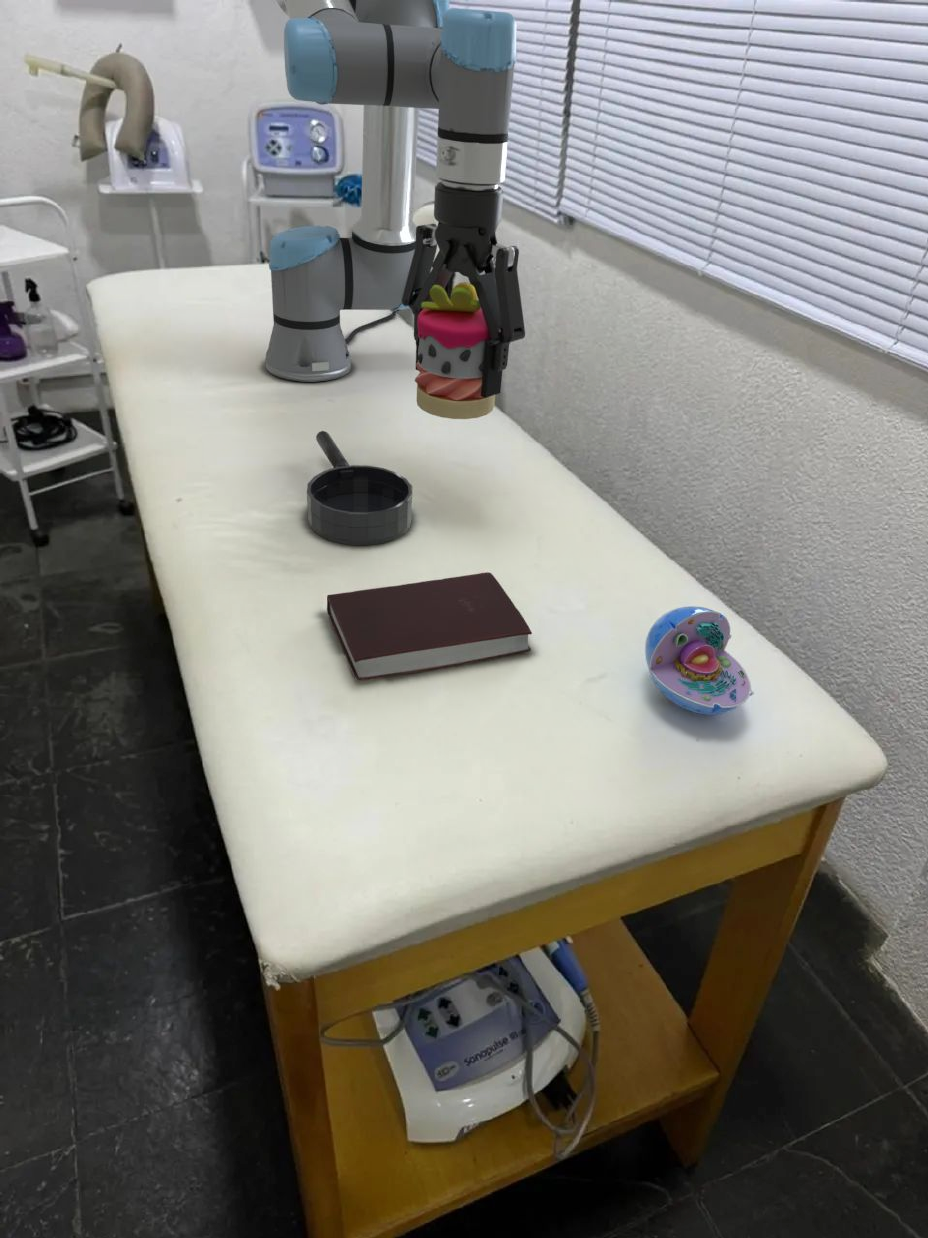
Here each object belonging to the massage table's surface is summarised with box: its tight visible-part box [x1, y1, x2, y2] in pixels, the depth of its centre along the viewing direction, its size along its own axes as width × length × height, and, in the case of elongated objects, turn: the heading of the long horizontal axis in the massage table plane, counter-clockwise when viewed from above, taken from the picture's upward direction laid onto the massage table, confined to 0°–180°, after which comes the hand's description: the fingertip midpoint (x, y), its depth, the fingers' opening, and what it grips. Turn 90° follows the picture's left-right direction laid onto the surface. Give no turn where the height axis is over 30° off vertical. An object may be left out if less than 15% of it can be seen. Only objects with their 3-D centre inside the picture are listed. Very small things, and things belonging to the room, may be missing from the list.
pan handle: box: [315, 430, 354, 479], centre depth 119 cm, size 13×2×2 cm, turn 23°
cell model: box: [644, 605, 755, 716], centre depth 84 cm, size 10×12×10 cm
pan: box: [306, 464, 413, 546], centre depth 110 cm, size 13×13×4 cm
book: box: [326, 571, 533, 681], centre depth 91 cm, size 12×19×3 cm, turn 110°
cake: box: [414, 281, 501, 420], centre depth 103 cm, size 10×11×15 cm
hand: (456, 380), depth 105 cm, fingers closed on cake, 10 cm apart
